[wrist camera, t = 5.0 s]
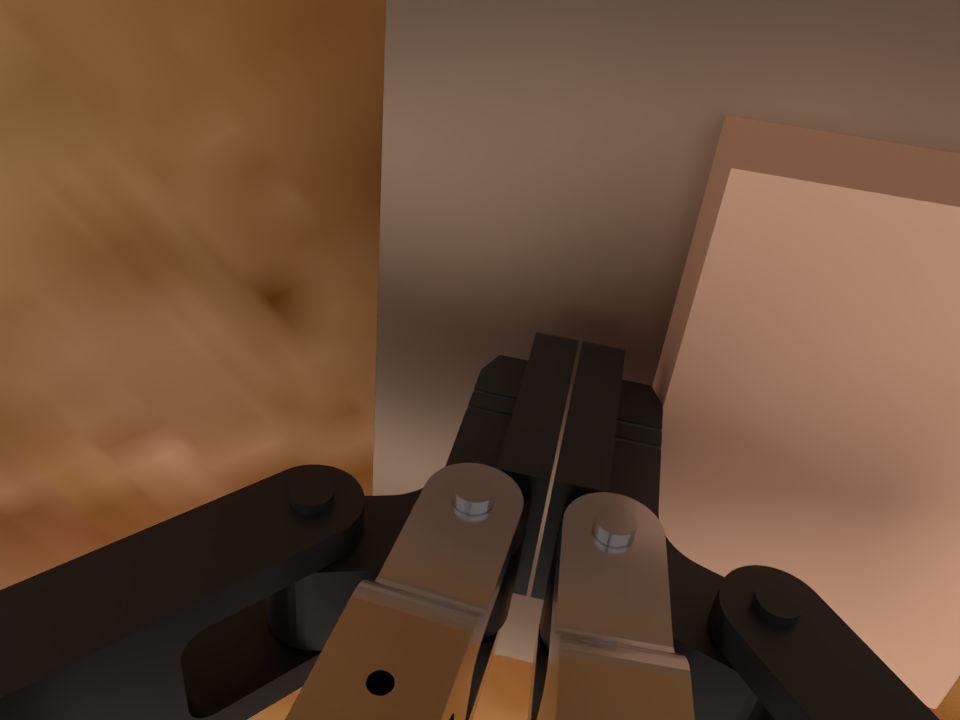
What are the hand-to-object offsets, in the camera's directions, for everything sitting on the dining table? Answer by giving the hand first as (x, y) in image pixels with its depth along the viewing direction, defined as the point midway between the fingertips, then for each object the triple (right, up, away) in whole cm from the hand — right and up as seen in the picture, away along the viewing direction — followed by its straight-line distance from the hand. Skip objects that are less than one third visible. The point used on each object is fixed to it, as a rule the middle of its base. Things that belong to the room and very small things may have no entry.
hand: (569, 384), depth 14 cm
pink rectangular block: (+5, 0, 0) cm, 5 cm away
